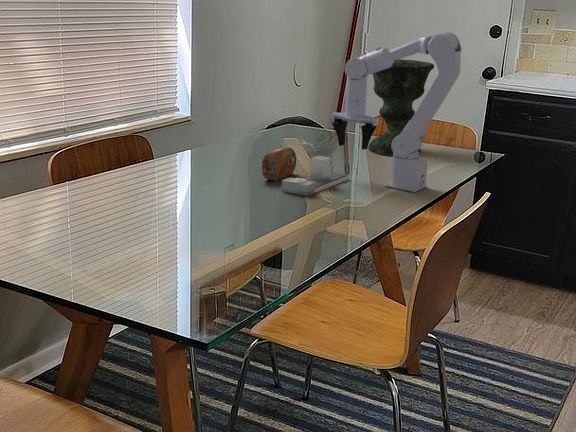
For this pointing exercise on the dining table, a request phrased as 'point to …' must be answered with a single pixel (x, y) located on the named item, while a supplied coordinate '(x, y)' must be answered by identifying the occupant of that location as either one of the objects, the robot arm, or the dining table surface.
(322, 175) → the block
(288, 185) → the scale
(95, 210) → the dining table surface
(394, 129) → the goblet
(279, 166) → the tin
